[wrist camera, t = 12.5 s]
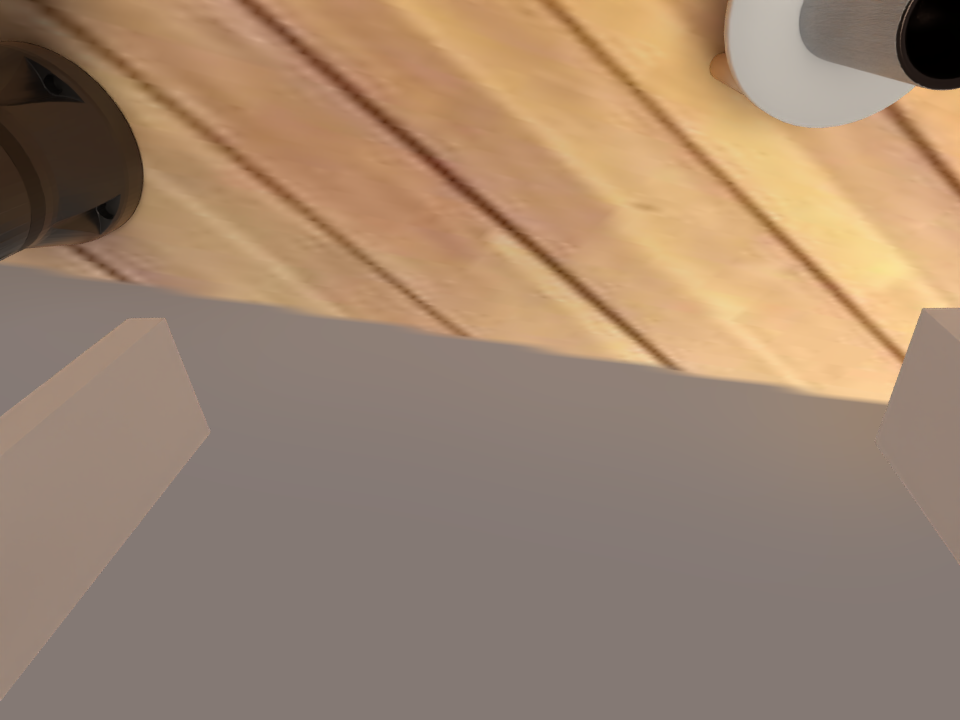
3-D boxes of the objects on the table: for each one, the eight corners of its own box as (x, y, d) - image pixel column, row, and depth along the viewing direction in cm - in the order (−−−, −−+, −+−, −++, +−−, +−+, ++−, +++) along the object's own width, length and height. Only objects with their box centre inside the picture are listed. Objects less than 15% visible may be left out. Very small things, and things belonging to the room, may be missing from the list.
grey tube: (777, 23, 30) (868, 37, 21) (857, -69, 28) (994, -95, 19) (838, 80, 31) (948, 117, 22) (920, -3, 29) (1077, 1, 20)
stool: (684, 103, 41) (717, 133, 33) (704, -95, 35) (750, -120, 27) (854, 93, 40) (933, 122, 31) (904, -115, 34) (1017, -148, 26)
